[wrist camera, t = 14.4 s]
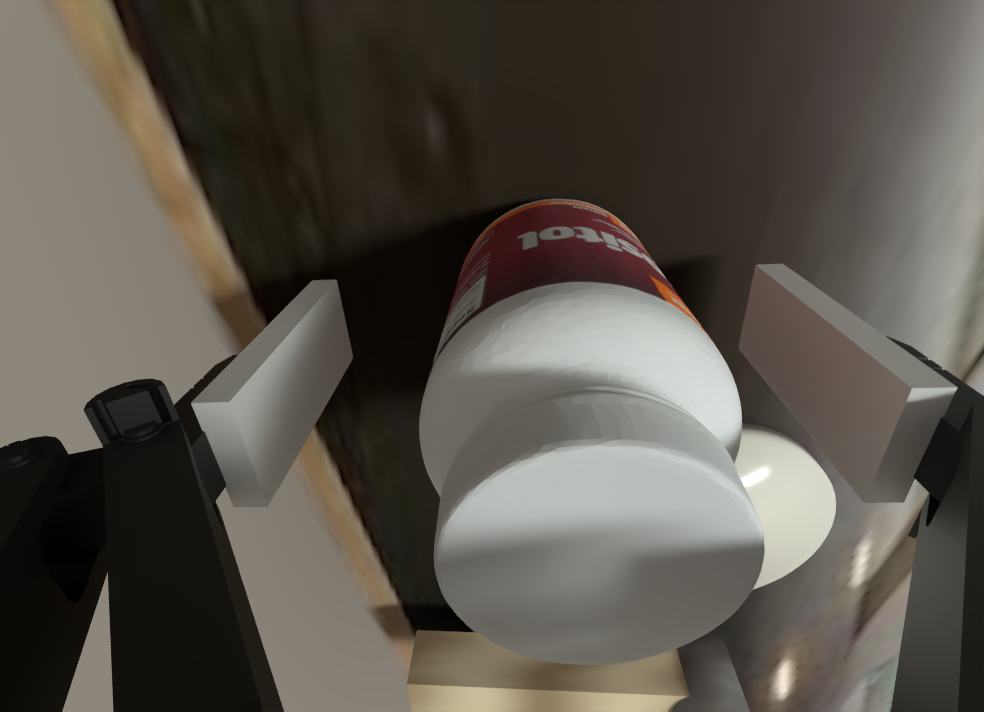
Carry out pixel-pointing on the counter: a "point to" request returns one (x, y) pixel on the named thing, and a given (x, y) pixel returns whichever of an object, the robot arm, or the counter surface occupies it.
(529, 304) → the pill bottle
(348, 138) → the counter surface
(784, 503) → the seat pad
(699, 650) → the hinged leg
